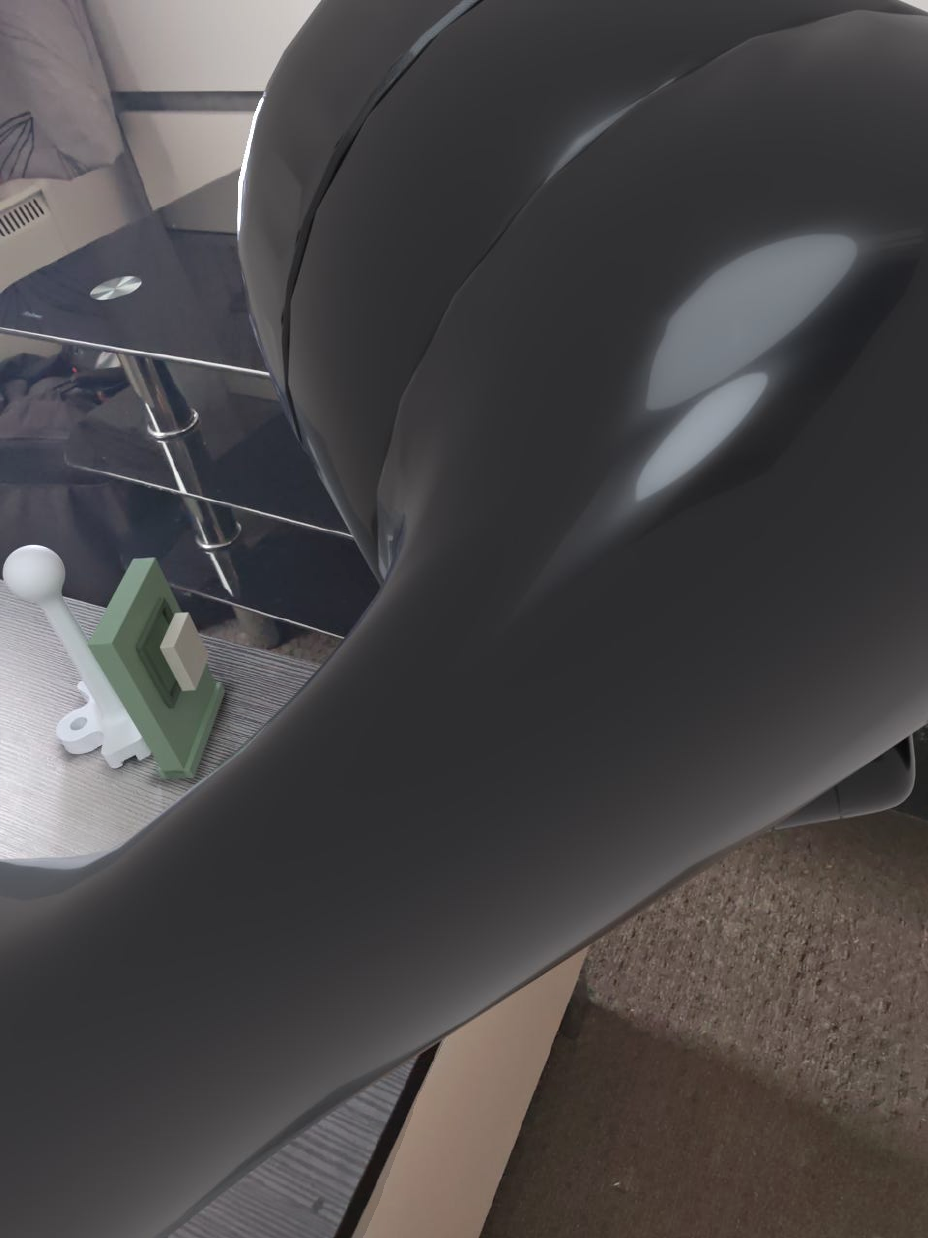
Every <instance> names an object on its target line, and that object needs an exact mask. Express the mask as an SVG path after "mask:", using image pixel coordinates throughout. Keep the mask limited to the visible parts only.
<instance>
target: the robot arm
mask: <svg viewBox="0 0 928 1238" xmlns="http://www.w3.org/2000/svg"><path fill="white" fill-rule="evenodd" d="M248 137H249V138H248V141H247V146H246V150H245V154H244V157H243V158H244V159H243V163H242V167H241V171H240V176H239V179H238V202H237V203H238V204H237V207H238V208H237V238H236V247H237V254H238V261H239V266H240V267H239V268H240V272H241V278H242V284H243V285H242V286H243V290H244V295H245V297H244V298H245V303H246V309H247V314H248V318H249V321H250V324H251V327H252V332H253V335H254V337H255V340H256V343H257V345H258V348H259V350H260V354H261V356H262V359H263V362H264V364H265V367H266V370H267V372H268V375H269V377H270V380H271V383H272V385H273V389H274V390H275V393H276V396H277V398H278V401H279V403H280V406H281V409H282V412H283V413H284V415H285V417H286V419H287V421H288V423H289V425H290V427H291V429H292V431H293V434H294V436H295V438H296V439H297V441H298V443H299V445H300V447H301V448H302V450H303V452H304V455H306V457H307V458H308V459H309V461H310V462H311V465H312V466H313V468H314V470H315V473H316V474H317V475H318V477H319V479H320V481H321V482H322V484H323V486H324V488H325V489H326V491H327V493H328V495H329V496H330V499H331V500H332V502H333V505H335V508H336V509H337V511H338V513H339V514H340V516H341V518H342V520H343V522H344V524H345V525H346V528H347V529H348V531H349V532H350V534H351V536H352V538H353V540H354V541H355V544H356V545H357V547H358V549H359V551H360V553H361V554H362V556H363V558H364V560H365V561H366V563H367V565H368V567H369V568H370V570H371V572H372V574H373V576H374V577H375V579H376V581H377V583H378V584H379V589H378V591H377V592H376V594H375V596H374V598H373V599H372V600H371V602H370V604H369V605H368V606H367V607H366V609H364V611H363V612H362V614H361V615H360V617H359V618H358V619H357V620H356V622H355V623H354V625H352V627H351V628H350V630H349V631H348V632H347V634H346V635H345V636H344V638H343V639H342V640H341V642H340V643H339V644H338V645H337V647H336V648H335V650H334V651H333V652H332V654H330V655H329V657H328V658H326V660H325V661H324V662H323V663H322V664H321V665H320V666H319V667H318V669H317V670H316V671H315V672H313V674H312V675H311V676H310V677H309V678H308V680H306V681H305V683H304V684H303V685H302V686H301V687H300V688H299V689H298V690H297V691H296V692H295V693H294V695H292V697H291V698H290V699H289V700H287V702H285V704H283V706H281V707H280V708H279V709H278V710H277V711H276V712H275V713H274V714H273V715H271V717H270V718H269V719H268V720H267V721H266V722H265V723H264V724H263V725H261V726H260V727H259V728H258V729H257V730H256V731H255V732H254V733H253V734H252V735H251V736H249V738H247V740H245V741H244V743H243V744H241V745H240V746H239V747H238V748H237V749H236V750H235V751H234V752H233V753H232V754H231V755H230V756H229V757H227V758H226V759H225V760H224V761H223V762H221V763H220V764H219V765H217V766H216V767H215V768H214V769H213V770H212V771H211V772H209V773H208V774H207V775H205V776H204V777H203V778H202V779H201V780H199V781H198V782H197V783H195V784H194V785H193V786H192V787H190V788H189V789H188V790H187V791H186V792H185V793H183V794H182V795H181V796H180V797H179V798H177V799H176V800H175V801H173V802H172V803H171V804H170V805H168V807H166V808H165V809H164V810H162V811H161V812H160V813H159V814H157V815H156V816H155V817H153V819H152V820H149V822H148V823H147V824H145V825H144V826H143V827H142V828H140V829H139V830H138V831H137V832H135V833H134V834H133V835H132V836H131V837H129V838H128V839H126V840H124V841H122V842H120V843H118V844H117V845H115V846H113V847H112V848H110V849H107V850H103V851H97V852H94V853H89V854H82V855H71V856H61V857H58V856H57V857H28V858H27V857H25V858H24V857H23V858H0V1238H169V1237H170V1236H171V1235H173V1233H175V1232H176V1231H178V1230H179V1229H180V1228H181V1227H182V1226H183V1225H185V1224H186V1223H187V1222H189V1221H190V1220H191V1219H193V1218H194V1217H195V1216H196V1215H197V1214H199V1213H200V1212H201V1211H203V1210H204V1209H205V1208H206V1207H207V1206H209V1205H211V1203H213V1202H214V1201H215V1200H216V1199H218V1198H219V1197H221V1195H223V1194H224V1193H225V1192H227V1191H228V1190H229V1189H230V1188H231V1187H233V1186H234V1185H235V1184H237V1183H238V1182H240V1181H241V1180H242V1179H243V1178H245V1177H246V1176H247V1175H249V1174H251V1172H253V1171H254V1170H255V1169H257V1168H259V1167H260V1166H261V1165H262V1164H264V1163H265V1162H266V1161H268V1160H269V1159H270V1158H272V1157H273V1156H274V1155H276V1154H277V1153H278V1152H280V1151H281V1150H283V1149H285V1148H286V1147H287V1146H288V1145H289V1144H291V1143H292V1142H293V1141H294V1140H296V1139H297V1138H299V1137H300V1136H301V1135H303V1134H304V1133H306V1132H307V1131H308V1130H310V1129H311V1128H312V1127H314V1126H315V1125H316V1124H318V1123H320V1122H321V1121H322V1120H324V1119H325V1118H327V1117H328V1116H330V1115H332V1114H333V1113H334V1112H336V1111H338V1110H339V1109H340V1108H342V1107H343V1106H344V1105H346V1104H347V1103H349V1102H350V1101H352V1100H354V1099H355V1098H356V1097H358V1096H359V1095H360V1094H362V1093H363V1092H365V1091H366V1090H368V1089H369V1088H370V1087H372V1086H374V1085H376V1084H377V1083H379V1082H380V1081H382V1080H384V1079H385V1078H386V1077H388V1076H389V1075H391V1074H392V1073H394V1072H396V1071H397V1070H398V1069H400V1068H401V1067H403V1066H404V1065H406V1064H407V1063H409V1062H411V1061H412V1060H414V1059H415V1058H416V1057H418V1056H420V1055H421V1054H423V1053H424V1052H426V1051H427V1050H429V1049H430V1048H432V1047H434V1046H435V1045H437V1044H438V1043H440V1042H442V1040H444V1039H446V1038H448V1037H449V1036H451V1035H452V1034H454V1033H455V1032H456V1031H458V1030H460V1029H462V1028H463V1027H464V1026H466V1025H468V1024H469V1023H471V1022H473V1021H474V1020H475V1019H477V1018H479V1017H480V1016H481V1015H483V1014H484V1013H486V1012H488V1011H490V1010H491V1009H493V1008H494V1007H495V1006H498V1004H500V1003H502V1002H503V1001H505V1000H507V999H508V998H509V997H511V996H512V995H513V996H514V994H516V993H518V992H519V991H520V990H522V989H523V988H525V987H527V986H528V985H530V984H532V983H533V982H535V981H536V980H537V979H539V978H540V977H542V976H544V975H545V974H546V973H548V972H550V971H551V970H553V969H555V968H556V967H558V966H560V965H561V964H562V963H564V962H565V961H567V960H569V959H570V958H572V957H573V956H575V955H577V954H578V953H579V952H581V951H583V950H584V949H585V948H587V947H589V946H591V945H592V944H593V943H595V942H596V941H598V940H599V939H601V938H603V937H604V936H606V935H607V934H609V933H611V932H612V931H613V930H616V929H617V928H618V927H620V926H621V925H623V924H625V923H626V922H628V921H630V920H631V919H633V918H634V917H635V916H637V915H639V914H640V913H642V912H643V911H645V910H647V909H648V908H650V907H651V906H652V905H654V904H656V903H657V902H659V901H661V900H662V899H664V898H665V897H667V896H668V895H670V894H672V893H673V892H675V891H676V890H677V889H679V888H681V887H682V886H684V885H685V884H687V883H688V882H690V881H692V880H693V879H695V878H697V877H698V876H699V875H701V874H702V873H704V872H705V871H707V870H708V869H711V868H712V867H713V866H715V865H716V864H718V863H719V862H721V861H723V860H724V859H726V858H727V857H729V856H731V855H732V854H734V853H735V852H737V851H738V850H740V849H742V848H743V847H744V846H746V845H748V844H749V843H751V842H752V841H754V840H756V839H757V838H758V837H760V836H762V835H766V834H771V832H772V829H773V831H774V832H778V831H784V830H789V829H794V828H800V827H805V826H811V825H816V824H822V823H826V822H831V821H836V820H845V819H850V818H855V817H861V816H866V815H870V814H875V813H879V812H883V811H886V810H889V809H892V808H895V807H897V806H899V805H900V804H902V803H903V802H905V801H906V800H907V798H908V797H909V796H910V795H911V794H912V791H913V789H914V785H915V779H916V757H915V748H914V747H915V746H914V737H913V734H914V733H915V732H917V731H918V730H919V729H921V728H925V729H928V11H926V10H923V9H921V8H919V7H916V6H914V5H912V4H909V3H907V2H906V1H905V2H904V1H902V0H320V1H319V2H318V3H317V5H316V6H315V8H314V9H313V11H312V12H311V13H310V15H309V16H308V17H307V19H306V20H305V22H304V23H303V25H302V26H301V27H300V28H299V30H298V31H297V33H296V34H295V35H294V37H293V38H292V39H291V41H290V42H289V44H287V46H286V48H285V49H284V50H283V52H282V54H281V56H280V58H279V60H278V61H277V64H276V66H275V67H274V70H273V72H272V73H271V75H270V77H269V79H268V81H267V83H266V86H265V88H264V90H263V94H262V96H261V99H260V100H259V103H258V106H257V108H256V111H255V113H254V116H253V120H252V125H251V129H250V134H249V136H248Z"/></svg>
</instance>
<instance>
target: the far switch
mask: <svg viewBox="0 0 928 1238" xmlns="http://www.w3.org/2000/svg"><path fill="white" fill-rule="evenodd" d="M160 649H161V651H162V653H163V655H164V657H165V659H166V661H167V663H168V664H169V666H170V668H171V670H172V672H173V674H174V676H175V678H176V680H177V682H178V683H179V685H180V687H181V689H182V691H191V690H196V688H197V686H198V683H199V681H200V678H201V676H202V673H203V670H204V668H205V665H206V663H208V661H209V658H210V654H209V652H208V650H207V648H206V646H205V643H204V641H203V640H202V637H201V636H200V633H199V631H198V629H197V626H196V625H195V623H194V620H193V617H192V616H191V614H190V612H182V613H175V615H174V617H173V619H172V621H171V624H170V626H169V628H168V630H167V632H166V635H165V637H164V639H163V641H162V643H161V646H160Z"/></svg>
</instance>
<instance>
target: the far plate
mask: <svg viewBox="0 0 928 1238" xmlns="http://www.w3.org/2000/svg"><path fill="white" fill-rule="evenodd" d="M175 613H183V612H182V610H181V607H180V606H179V604H178V602H177V600H176V597H175V595H174V593H173V591H172V589H171V587H170V585H169V583H168V581H167V578H166V577H165V575H164V572H163V570H162V569H161V566H160V564H159V562H158V560H157V558H156V557H145V558H133V559H131V561H130V564H129V566H128V568H127V569H126V571H125V573H124V575H123V577H122V578H121V581H120V583H119V584H118V586H117V588H116V590H115V591H114V594H113V595H112V598H111V599H110V601H109V603H108V605H107V607H106V608H105V611H104V613H103V614H102V616H101V618H100V619H99V621H98V623H97V625H96V627H95V629H94V631H93V633H92V634H91V637H90V638H89V639H90V640H89V642H88V644H87V646H88V647H89V649H90V651H91V652H92V654H93V656H94V657H95V659H96V661H97V662H98V664H99V666H100V667H101V669H102V671H103V672H104V674H105V676H106V677H107V679H108V681H109V682H110V684H111V686H112V687H113V689H114V691H115V693H116V694H117V696H118V698H119V699H120V701H121V703H122V704H123V706H124V708H125V709H126V711H127V713H128V714H129V716H130V718H131V719H132V721H133V723H134V724H135V726H136V728H137V729H138V731H139V733H140V734H141V736H142V738H143V739H144V741H145V743H146V744H147V746H148V748H149V749H150V751H151V754H152V756H153V758H154V759H155V761H156V763H157V765H158V766H157V768H156V772H157V774H158V776H159V778H160V779H161V780H173V779H194V778H195V777H196V774H197V771H198V768H199V766H200V763H201V760H202V757H203V754H204V752H205V749H206V747H207V744H208V740H209V738H210V735H211V732H212V729H213V727H214V724H215V721H216V719H217V715H218V713H219V710H220V707H221V705H222V701H223V698H224V696H225V693H226V689H225V687H224V685H223V682H216V679H215V677H214V675H213V673H212V672H211V670H210V667H209V665H208V664H207V663H208V662H207V663H206V665H205V668H204V670H203V673H202V676H201V678H200V681H199V683H198V686H197V688H196V690H191V691H182V689H181V687H180V685H179V683H178V682H177V680H176V678H175V676H174V674H173V672H172V670H171V668H170V666H169V664H168V663H167V661H166V659H165V657H164V655H163V653H162V651H161V649H160V646H161V643H162V641H163V639H164V637H165V635H166V632H167V630H168V628H169V626H170V624H171V621H172V619H173V617H174V615H175Z"/></svg>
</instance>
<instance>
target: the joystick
mask: <svg viewBox="0 0 928 1238" xmlns="http://www.w3.org/2000/svg"><path fill="white" fill-rule="evenodd" d="M4 561H5V562H4V564H3V566H2V579H3V582H4V584H5V587H6V588H7V590H8V591H9V592H10V593H11V595H14V596H15V597H16V598H18V599H20V600H23V601H25V602H30V603H32V604H35V605H36V606H38V608H39V609H40V610H41V611H42V613H43V614H44V616H45V618H46V619H47V621H48V623H49V625H50V626H51V628H52V630H53V632H54V633H55V635H56V637H57V639H58V640H59V642H60V643H61V645H62V647H63V649H64V651H65V652H66V655H67V656H68V657H69V659H70V661H71V663H72V665H73V666H74V668H75V670H76V671H77V673H78V675H79V676H80V678H81V680H80V681H79V682H78V683H77V685H76V688H77V689H78V691H79V693H80V694H81V696H82V697H83V699H84V701H85V702H86V704H85V705H83V706H82V707H81V706H80V707H79V708H76V709H73V710H71V711H69V712H68V713H67V714H66V715H64V717H62V718H61V719H60V720H59V722H58V724H57V725H56V729H55V735H56V737H57V738H58V739H59V741H60V743H61V744H62V746H63V747H64V748H65V750H66V751H67V752H68V753H70V754H73V755H82V754H87V753H90V752H92V751H94V750H96V749H98V747H100V746H101V749H100V750H101V751H100V753H101V755H102V756H103V758H104V760H105V761H106V763H107V765H109V767H110V768H111V769H118V768H120V767H123V765H124V761H126V760H128V759H130V758H132V757H134V756H136V758H137V760H138V762H139V761H142V760H144V759H145V758H147V757H149V756H151V754H152V753H151V751H150V749H149V748H148V746H147V744H146V743H145V741H144V739H143V738H142V736H141V734H140V733H139V731H138V729H137V728H136V726H135V724H134V723H133V721H132V719H131V718H130V716H129V714H128V713H127V711H126V709H125V708H124V706H123V704H122V703H121V701H120V699H119V698H118V696H117V694H116V693H115V691H114V689H113V687H112V686H111V684H110V682H109V681H108V679H107V677H106V676H105V674H104V672H103V671H102V669H101V667H100V666H99V664H98V662H97V661H96V659H95V657H94V656H93V654H92V652H91V651H90V649H89V647H88V646H87V644H88V642H89V640H90V638H89V636H88V634H87V633H86V631H85V630H84V628H83V626H82V625H81V623H80V622H79V620H78V618H77V617H76V615H75V614H74V612H73V610H72V609H71V607H70V606H69V604H68V603H67V601H66V599H65V598H64V596H63V591H62V590H63V586H64V584H65V580H66V568H65V564H64V562H63V560H62V558H60V556H59V555H58V554H57V553H56V552H55V551H53V550H52V549H51V548H49V547H45V546H43V545H38V544H29V545H24V546H21V547H19V548H17V549H15V550H14V551H13V552H11V553H10V554H9V555H8V557H7V558H6V559H5V560H4Z"/></svg>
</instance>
